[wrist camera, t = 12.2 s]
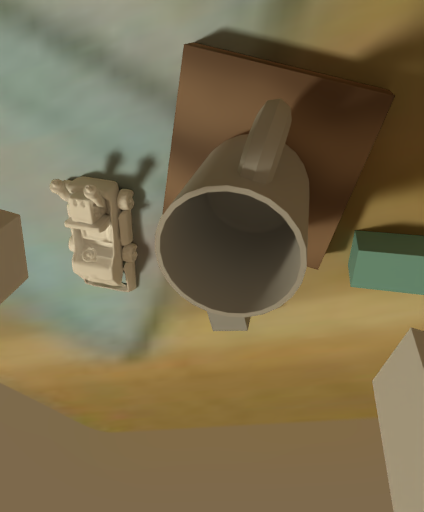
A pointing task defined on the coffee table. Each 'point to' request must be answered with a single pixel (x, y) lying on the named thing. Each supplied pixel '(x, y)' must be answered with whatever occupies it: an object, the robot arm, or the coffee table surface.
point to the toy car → (100, 231)
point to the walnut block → (300, 133)
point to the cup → (240, 223)
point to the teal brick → (387, 262)
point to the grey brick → (228, 323)
